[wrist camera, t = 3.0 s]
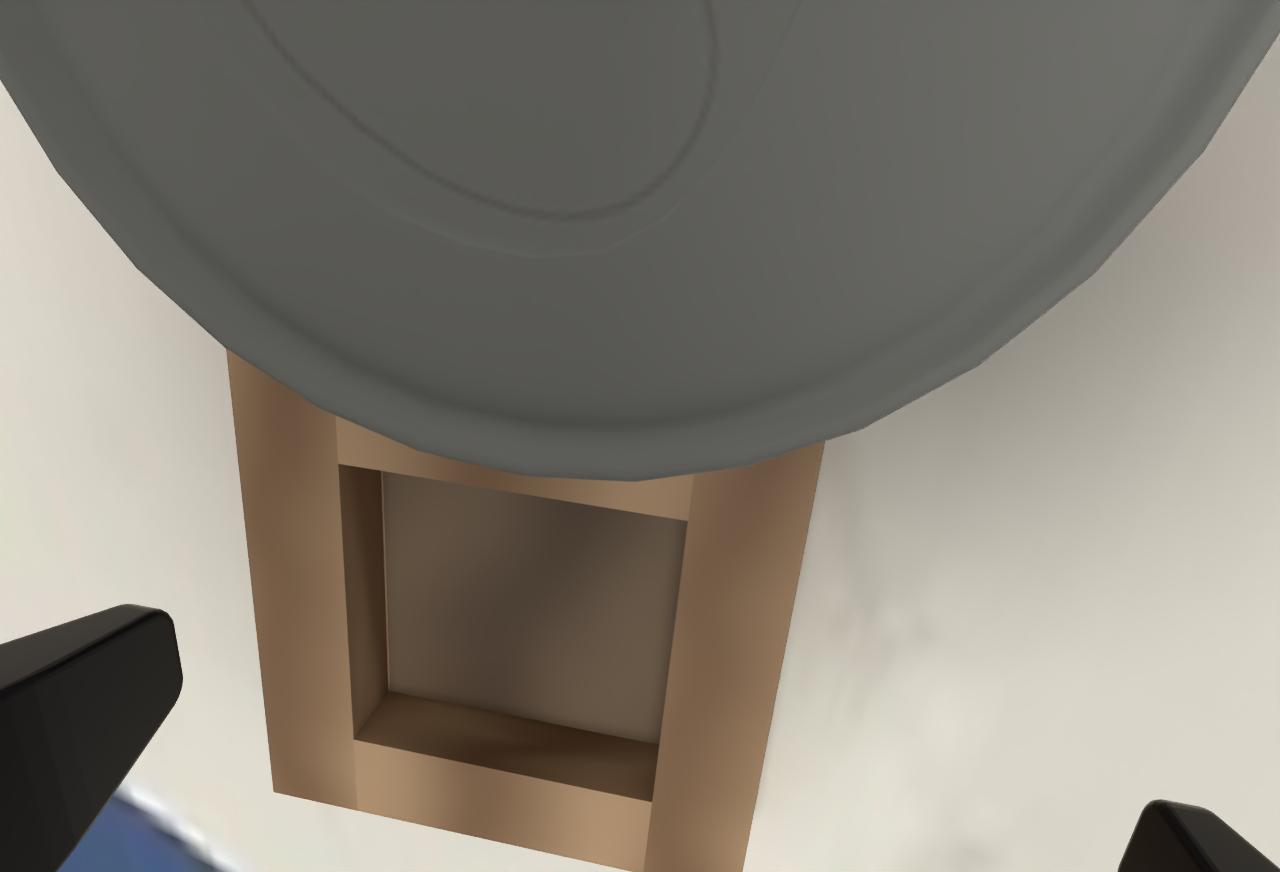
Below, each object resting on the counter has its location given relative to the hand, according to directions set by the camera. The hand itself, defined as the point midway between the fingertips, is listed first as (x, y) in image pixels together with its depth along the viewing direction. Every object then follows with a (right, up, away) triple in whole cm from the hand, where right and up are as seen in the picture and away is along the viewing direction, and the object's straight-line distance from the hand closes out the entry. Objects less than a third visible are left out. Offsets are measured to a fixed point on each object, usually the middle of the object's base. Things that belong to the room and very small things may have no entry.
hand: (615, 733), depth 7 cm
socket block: (-3, -1, +14) cm, 15 cm away
